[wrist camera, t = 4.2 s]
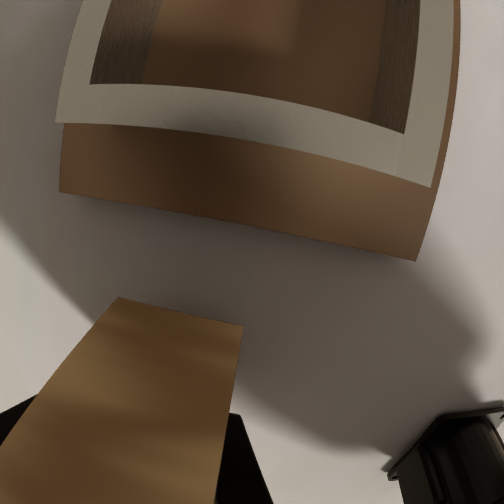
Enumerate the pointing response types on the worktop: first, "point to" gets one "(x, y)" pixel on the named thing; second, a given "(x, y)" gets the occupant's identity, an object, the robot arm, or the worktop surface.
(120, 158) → the plate
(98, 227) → the worktop surface
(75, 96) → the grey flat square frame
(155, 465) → the rail post
